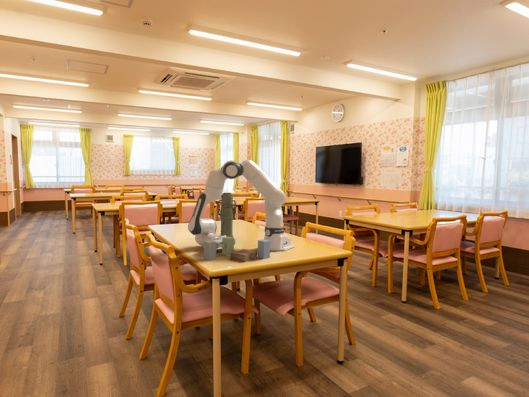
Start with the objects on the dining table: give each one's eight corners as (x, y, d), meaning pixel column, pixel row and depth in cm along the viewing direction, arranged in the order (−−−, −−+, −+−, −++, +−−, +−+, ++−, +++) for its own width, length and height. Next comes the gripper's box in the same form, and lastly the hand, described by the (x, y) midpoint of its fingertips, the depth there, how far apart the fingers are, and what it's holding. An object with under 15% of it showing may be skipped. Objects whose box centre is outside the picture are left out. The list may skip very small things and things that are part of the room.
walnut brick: (243, 255, 205) (243, 249, 204) (257, 258, 199) (257, 251, 199) (230, 259, 195) (230, 252, 194) (244, 262, 189) (244, 255, 189)
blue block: (263, 256, 204) (263, 239, 203) (269, 257, 200) (270, 240, 200) (257, 257, 200) (257, 240, 199) (263, 259, 197) (264, 241, 196)
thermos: (236, 245, 230) (236, 193, 227) (218, 246, 228) (218, 193, 225) (234, 243, 239) (235, 192, 236) (217, 243, 236) (218, 192, 234)
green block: (228, 252, 210) (228, 236, 209) (233, 254, 207) (234, 237, 206) (221, 254, 206) (222, 237, 206) (227, 255, 203) (227, 238, 202)
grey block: (210, 257, 198) (210, 240, 197) (216, 259, 194) (216, 241, 194) (203, 258, 194) (203, 241, 193) (209, 260, 191) (209, 242, 190)
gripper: (200, 238, 207) (215, 242, 198) (226, 234, 222) (241, 237, 213) (200, 249, 208) (215, 253, 198) (226, 244, 223) (241, 247, 213)
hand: (229, 245), depth 206 cm, fingers closed on green block, 5 cm apart
